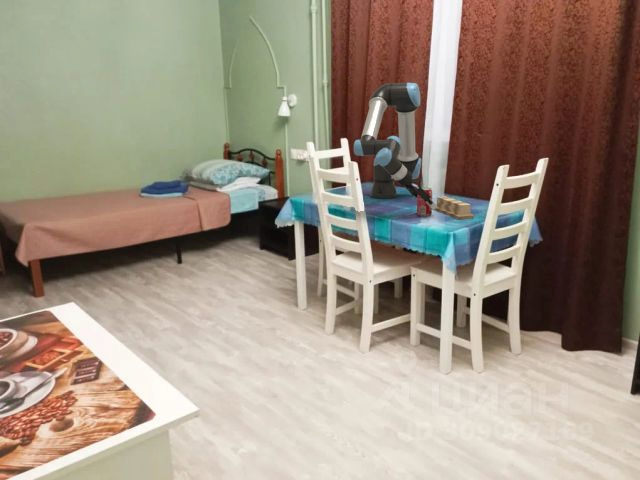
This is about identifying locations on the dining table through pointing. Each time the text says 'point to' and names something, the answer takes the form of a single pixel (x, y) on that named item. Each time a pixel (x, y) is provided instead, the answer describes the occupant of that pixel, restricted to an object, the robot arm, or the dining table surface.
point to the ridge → (454, 208)
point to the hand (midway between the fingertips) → (430, 206)
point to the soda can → (424, 204)
